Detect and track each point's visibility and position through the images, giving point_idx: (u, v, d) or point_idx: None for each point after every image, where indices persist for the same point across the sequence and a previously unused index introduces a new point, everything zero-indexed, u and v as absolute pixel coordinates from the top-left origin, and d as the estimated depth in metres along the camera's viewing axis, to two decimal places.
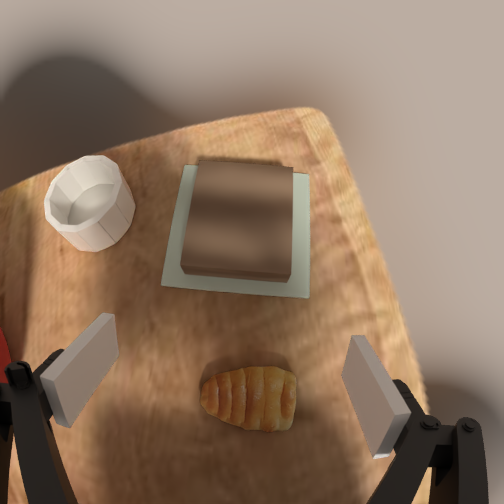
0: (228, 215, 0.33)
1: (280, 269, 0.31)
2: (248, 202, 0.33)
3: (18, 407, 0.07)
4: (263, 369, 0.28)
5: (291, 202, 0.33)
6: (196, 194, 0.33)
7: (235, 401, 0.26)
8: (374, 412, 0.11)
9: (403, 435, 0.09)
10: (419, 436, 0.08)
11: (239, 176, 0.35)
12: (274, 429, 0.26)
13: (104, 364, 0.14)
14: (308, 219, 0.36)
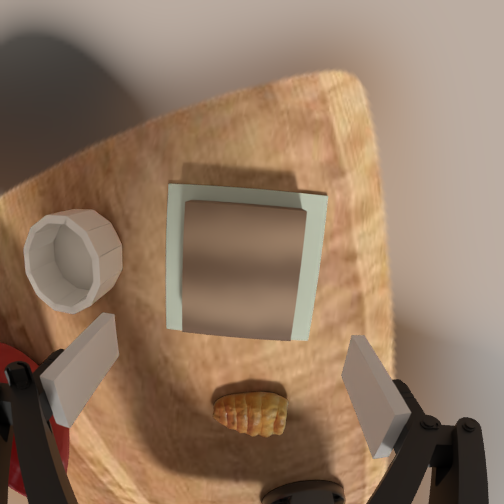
0: (227, 280, 0.29)
1: (280, 336, 0.30)
2: (249, 265, 0.29)
3: (18, 407, 0.07)
4: (261, 401, 0.34)
5: (299, 263, 0.29)
6: (187, 253, 0.29)
7: (239, 423, 0.34)
8: (374, 412, 0.11)
9: (403, 435, 0.09)
10: (419, 436, 0.08)
11: (237, 227, 0.28)
12: None
13: (104, 364, 0.14)
14: (318, 260, 0.32)
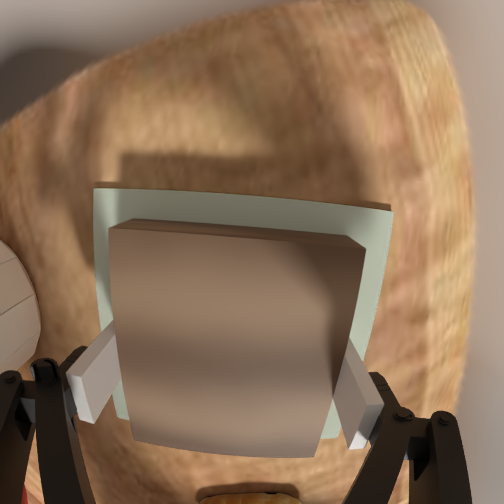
0: (200, 379, 0.14)
1: (297, 453, 0.15)
2: (243, 355, 0.14)
3: (42, 404, 0.08)
4: None
5: (342, 350, 0.14)
6: (122, 329, 0.14)
7: None
8: (350, 403, 0.12)
9: (377, 426, 0.10)
10: (393, 428, 0.09)
11: (216, 282, 0.13)
12: None
13: None
14: (369, 327, 0.17)
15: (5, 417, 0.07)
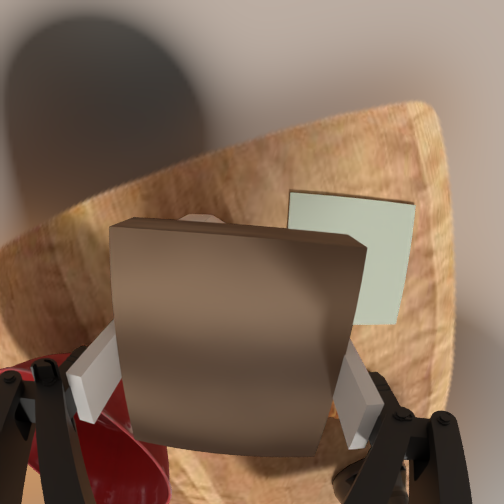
0: (201, 378, 0.14)
1: (298, 453, 0.15)
2: (244, 354, 0.14)
3: (42, 404, 0.08)
4: None
5: (344, 349, 0.14)
6: (123, 328, 0.14)
7: None
8: (350, 403, 0.12)
9: (377, 426, 0.10)
10: (393, 428, 0.09)
11: (217, 281, 0.13)
12: None
13: None
14: (407, 256, 0.36)
15: (5, 417, 0.07)
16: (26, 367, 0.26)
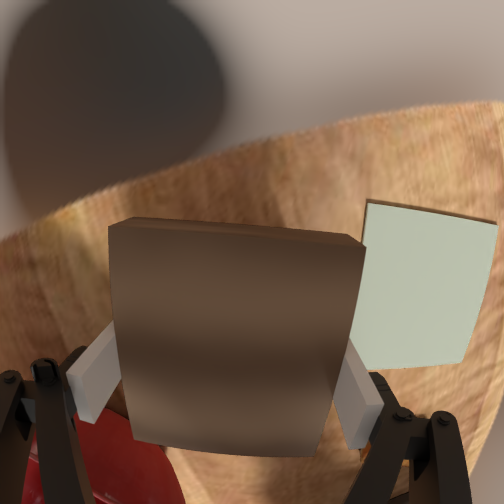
0: (200, 378, 0.14)
1: (297, 453, 0.15)
2: (243, 353, 0.14)
3: (42, 404, 0.08)
4: None
5: (343, 349, 0.14)
6: (122, 328, 0.14)
7: None
8: (350, 403, 0.12)
9: (377, 426, 0.10)
10: (393, 428, 0.09)
11: (216, 281, 0.13)
12: None
13: None
14: (485, 286, 0.26)
15: (5, 417, 0.07)
16: None
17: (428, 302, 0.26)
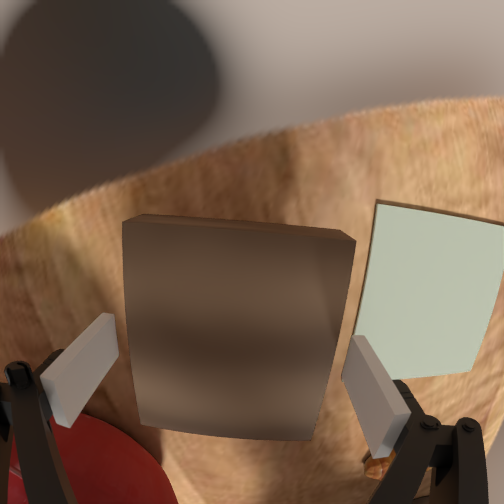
0: (205, 362, 0.16)
1: (295, 436, 0.17)
2: (244, 338, 0.15)
3: (18, 407, 0.07)
4: None
5: (336, 334, 0.15)
6: (133, 315, 0.15)
7: None
8: (374, 412, 0.11)
9: (403, 435, 0.09)
10: (419, 436, 0.08)
11: (220, 271, 0.14)
12: None
13: (104, 364, 0.14)
14: (496, 292, 0.24)
15: None
16: None
17: (439, 309, 0.24)
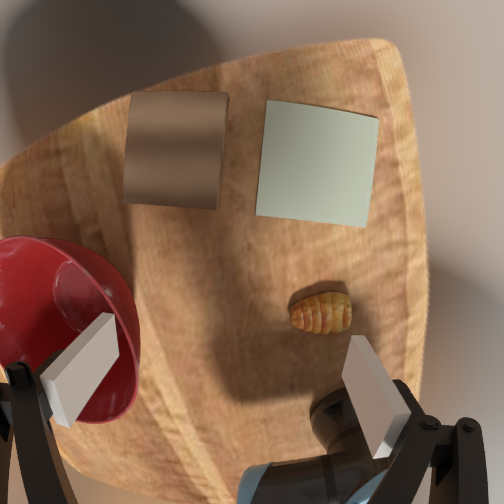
0: (160, 152, 0.32)
1: (206, 205, 0.33)
2: (178, 137, 0.31)
3: (18, 407, 0.07)
4: (330, 297, 0.44)
5: (221, 135, 0.31)
6: (130, 131, 0.31)
7: (314, 321, 0.44)
8: (374, 412, 0.11)
9: (403, 435, 0.09)
10: (419, 436, 0.08)
11: (170, 107, 0.30)
12: None
13: (104, 364, 0.14)
14: (373, 163, 0.40)
15: None
16: None
17: (320, 167, 0.41)
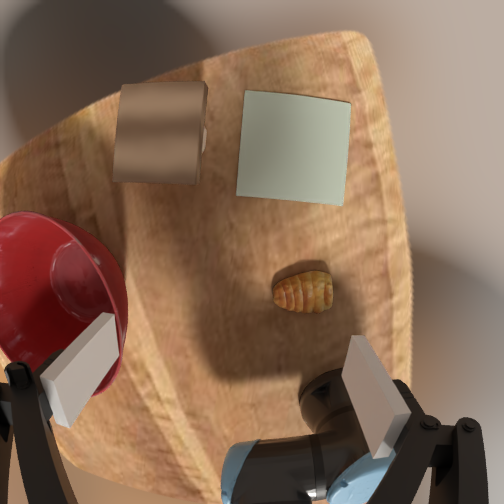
0: (146, 135, 0.35)
1: (186, 181, 0.36)
2: (162, 122, 0.34)
3: (18, 407, 0.07)
4: (310, 276, 0.46)
5: (199, 118, 0.34)
6: (120, 119, 0.34)
7: (296, 299, 0.46)
8: (374, 412, 0.11)
9: (403, 435, 0.09)
10: (419, 436, 0.08)
11: (154, 96, 0.34)
12: None
13: (104, 364, 0.14)
14: (347, 144, 0.43)
15: None
16: (19, 214, 0.32)
17: (296, 150, 0.43)
